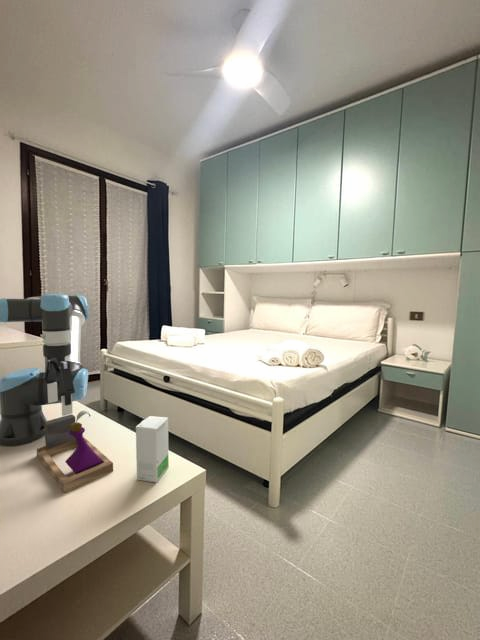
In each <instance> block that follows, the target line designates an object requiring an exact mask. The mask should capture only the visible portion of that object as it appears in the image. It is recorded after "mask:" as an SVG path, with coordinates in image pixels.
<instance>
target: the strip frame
mask: <svg viewBox="0 0 480 640" xmlns="http://www.w3.org/2000/svg"><path fill="white" fill-rule="evenodd" d="M72 423H76V416H75V415H74V414H73V413H72V414H68V415H65V416H61V417H57V418H53V419H50V420H49V419H48V420H47V421H45V435H44V436H45V439H44V442H45V443H44V444H45V445H43V446H39V447H37V448H36V457H37V458H38V460H39V461H40V462H41V464H42V465H43V466H44V468H45V469H46V470H47V472H48V473H49V475H50V477H52V479H53V481H55V483H56V484H57V486H58V487H59V488H60V489H61V491H62V492H63V493H64V494H65V493H68V492H69V491H71V490H73V489H77V488H79V487H81V486H83V485H86V484H87V483H90V482H91V481H94V480H96V479H99V478H101V477H103V476H105V475H107V474H109V473H111V472H114V462H113V461H112V460H110V459H109V458H108V457H107V456H106V455H105V454H103V452H101V451H100V450H99V449H98V448H97V447H96V446H95V445H94V444H92V442H90V441H89V440H88V439H87V438H86V437H84V439H85V441H86V442H87V444H88V445H89V446H90V448H91V449H92V450H93V451H94V452H95V453H96V454H97V455H98V456H99V458H100V459H101V460H102V462H101V463H100V465H97V466H95V467H92V468H90V469H88V470H85V471H83V472H80V473H78V474H73V475H70V476H69V477H67V476H66V474H65V473H64V472H63V470H61V468H60V467H59V466H58V465H57V463H56V462H55V460H53V459H52V456H54V455H57V454H61V453H62V452H66V451H69V450H71V449H74V448H77V446H78V445H77V440H76V438H75V437H74V436H71V435H69V431H70V430H71V427H70V425H71V424H72Z"/></svg>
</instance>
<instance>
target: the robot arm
mask: <svg viewBox="0 0 480 640" xmlns="http://www.w3.org/2000/svg"><path fill="white" fill-rule="evenodd" d="M89 315H90V314H89V308H88V301H87V298H86V296H84V295H77V294H75V295H67V294H64V293H63V294H59V293H51V294H50V293H49V294H48V293H47V294H42V295H38V296H31V297H27V298H5V297H4V298H0V323H19V322H20V323H22V322H23V323H24V322H25V323H26V322H41V329H42V330H41V331H42V334H40V338H42V343H43V346H42V353H43V354H42V355H43V357H44V358H46V363H45V365H46V366H45V371H43V372H42V370H41V369H40V368H38V367H31V368H30V367H29V368H23V369H18V370H14V371H12V372H9V373H7V374H4V375H3V376H2V377H1V378H0V416H1V417H0V418H1V419H0V446H5V447H6V446H7V447H10V446H11V447H12V446H13V447H14V446H18V445H19V446H20V445H24V444H28V443H32V442H35V441H37V440H39V439H41V438H42V437H44V436H45V421H48V420H47V418H46V416H45V414H44V412H43V409H42V408H43V406H46V405H47V406H48V405H55V404H61V415H62V416H61V417H63V416H67V415H71V414H72V415H73V402H77V401H82V400H83V399H84V398H85V397H86V394H87V389H88V381H89V371H88V369H87V368H85V366H84V364H82V363H81V346H82V345H81V342H82V341H81V340H82V326H83V325H84V324H85V323H86V321H88V320H89V317H90V316H89Z"/></svg>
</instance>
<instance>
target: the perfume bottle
mask: <svg viewBox="0 0 480 640" xmlns="http://www.w3.org/2000/svg"><path fill="white" fill-rule="evenodd" d="M86 414H87V415H88V416H89V417H91V413H90V412H89V411H86V410H81V411H79V412H78V414H77V415H76V419H75V423H72V424H71V425H70V427H71V430H70V431H69V435H71V436H74V437H75V438H76V440H77V445H78V446H77V447H76V449H75V450H74V451H73V453H72V454H71V455H70V456H69V457H68V458H67V459H66V460H65V462H64V463H66V465H67V466H68V467H69V468H70V469H71V471H72V472H73V474H74V475H76V474H78V473H80V472H83V471H85V470H88V469H90V468H92V467H95V466H97V465H100V463H101V462H102V460H101V459H100V458H99V456H98V455H97V454H96V453H95V452H94V451H93V450H92V449H91V448H90V446H89V445H88V444H87V442H86V441H85V439H86V438H85V437H84V433H85V431H86V429H85V427H83V424H82V423H81V422H78V420H79V419H80V418H82V417H83V416H84V415H86ZM84 438H85V439H84Z"/></svg>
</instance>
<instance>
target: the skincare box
mask: <svg viewBox="0 0 480 640" xmlns="http://www.w3.org/2000/svg"><path fill="white" fill-rule="evenodd" d="M135 445H136V446H135V447H136V448H135V450H136V452H135V453H136V480H137V481H142V482H149V483H158V482H159V480H160V479H161V478H162V477H163V475H164V474H165V472H166V471H167V470H168V469H169V464H170V463H169V461H170V460H169V459H170V457H169V417H165V416H153V415H149V416H147V417H146V418H145V419H143V420H141V422H140V423H139V424H137V425H136V426H135Z"/></svg>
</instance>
